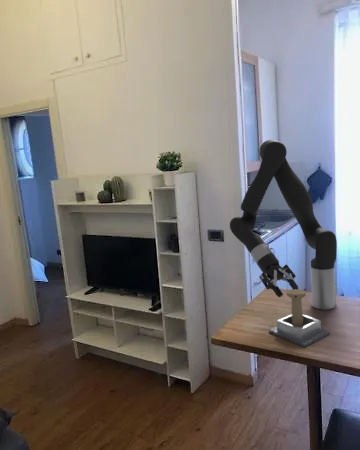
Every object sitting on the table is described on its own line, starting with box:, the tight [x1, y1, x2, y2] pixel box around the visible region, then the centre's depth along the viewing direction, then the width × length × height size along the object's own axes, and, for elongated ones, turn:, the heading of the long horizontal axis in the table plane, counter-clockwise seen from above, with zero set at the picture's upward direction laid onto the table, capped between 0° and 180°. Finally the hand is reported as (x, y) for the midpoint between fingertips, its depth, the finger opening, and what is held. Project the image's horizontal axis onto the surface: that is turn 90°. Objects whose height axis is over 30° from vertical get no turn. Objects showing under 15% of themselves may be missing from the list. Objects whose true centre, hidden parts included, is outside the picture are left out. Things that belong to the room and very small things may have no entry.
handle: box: [286, 289, 307, 328], centre depth 141 cm, size 5×6×15 cm
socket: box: [268, 313, 331, 348], centre depth 142 cm, size 14×16×5 cm
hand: (289, 293), depth 143 cm, fingers open, 8 cm apart
